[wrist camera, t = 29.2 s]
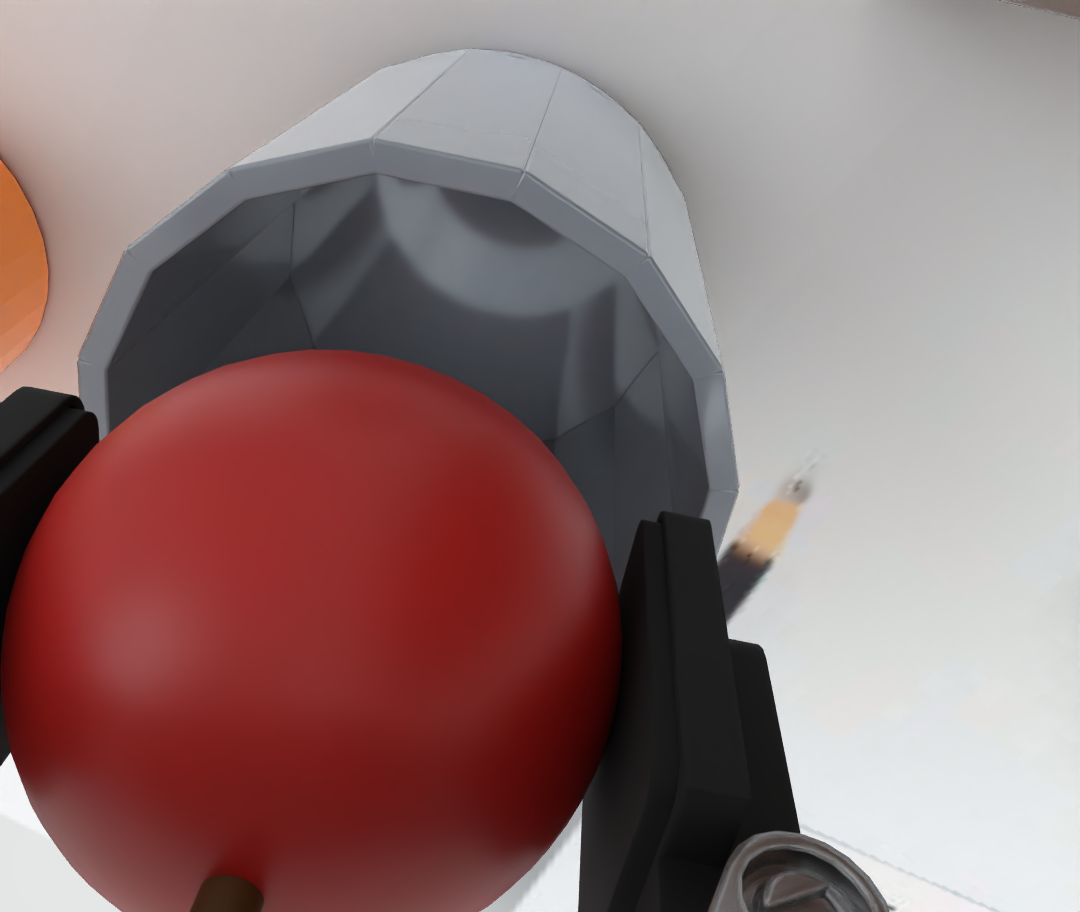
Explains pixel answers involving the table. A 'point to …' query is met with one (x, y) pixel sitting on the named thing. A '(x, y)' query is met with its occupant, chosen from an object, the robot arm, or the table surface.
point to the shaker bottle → (19, 270)
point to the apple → (312, 645)
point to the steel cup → (454, 275)
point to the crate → (1052, 6)
